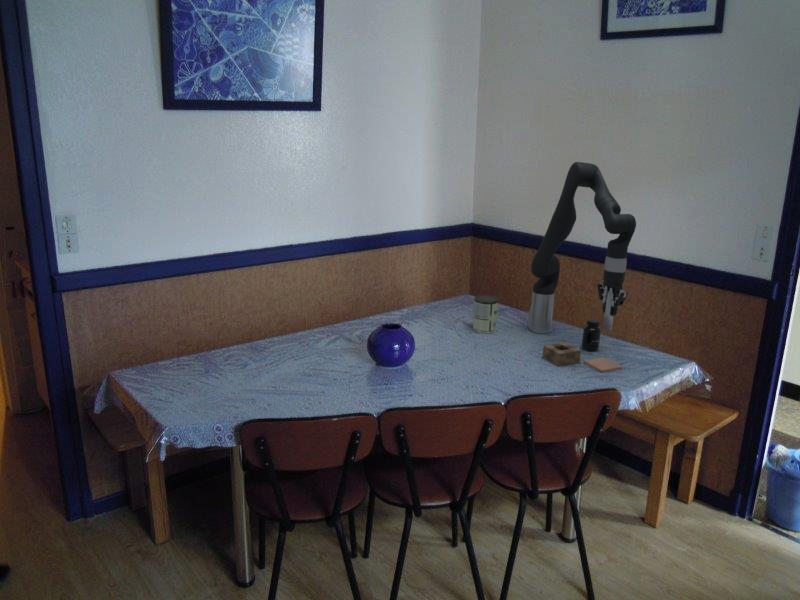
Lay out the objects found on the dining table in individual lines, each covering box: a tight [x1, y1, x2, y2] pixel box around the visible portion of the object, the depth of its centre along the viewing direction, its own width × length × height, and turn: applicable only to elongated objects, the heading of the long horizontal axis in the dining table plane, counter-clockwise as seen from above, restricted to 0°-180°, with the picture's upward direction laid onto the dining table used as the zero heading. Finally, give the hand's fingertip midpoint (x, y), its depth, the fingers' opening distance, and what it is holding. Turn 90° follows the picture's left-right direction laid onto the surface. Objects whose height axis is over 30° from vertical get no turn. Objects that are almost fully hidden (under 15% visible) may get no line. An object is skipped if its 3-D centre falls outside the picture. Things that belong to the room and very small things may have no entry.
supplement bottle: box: [581, 318, 602, 353], centre depth 277 cm, size 7×7×12 cm
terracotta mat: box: [583, 356, 623, 374], centre depth 261 cm, size 10×10×1 cm
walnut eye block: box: [542, 341, 582, 367], centre depth 265 cm, size 10×10×5 cm
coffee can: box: [472, 294, 500, 334], centre depth 295 cm, size 10×10×14 cm
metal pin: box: [602, 291, 615, 332], centre depth 255 cm, size 3×3×16 cm
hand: (609, 313), depth 255 cm, fingers closed on metal pin, 3 cm apart
